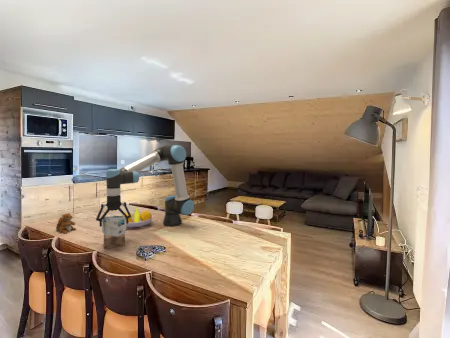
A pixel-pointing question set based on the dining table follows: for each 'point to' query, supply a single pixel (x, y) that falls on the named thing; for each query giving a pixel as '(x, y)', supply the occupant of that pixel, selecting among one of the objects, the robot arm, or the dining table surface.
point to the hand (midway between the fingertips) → (114, 230)
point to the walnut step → (114, 241)
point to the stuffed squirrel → (65, 224)
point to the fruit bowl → (139, 219)
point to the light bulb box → (114, 225)
